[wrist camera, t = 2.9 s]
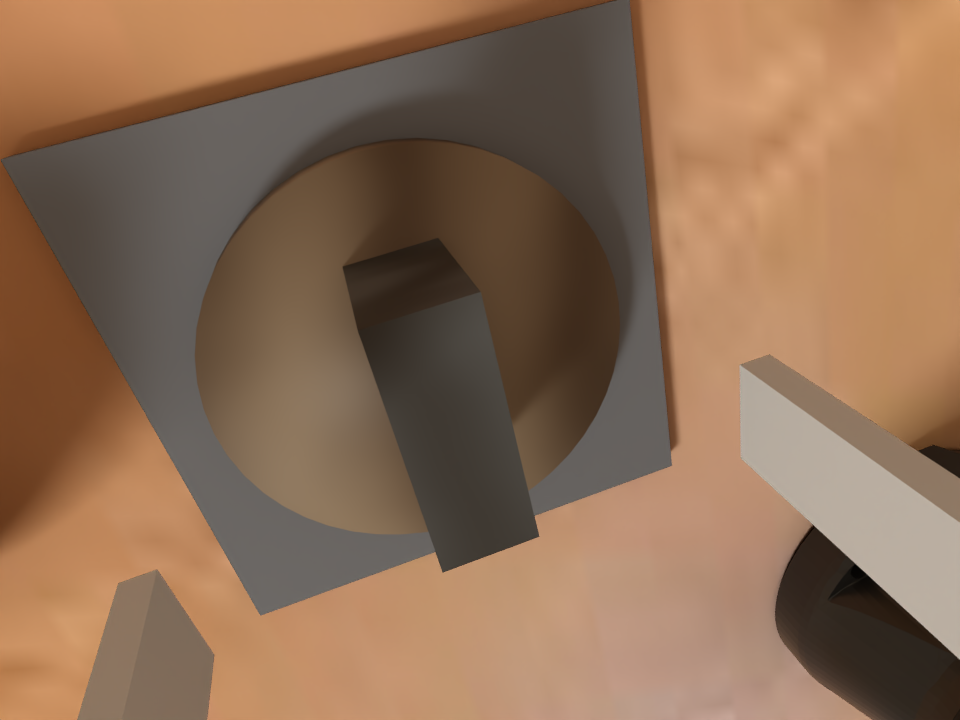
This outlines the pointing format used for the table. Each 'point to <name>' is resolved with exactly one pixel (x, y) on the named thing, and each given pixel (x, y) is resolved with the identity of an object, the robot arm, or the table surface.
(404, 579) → the table surface
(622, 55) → the mat
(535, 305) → the lid
